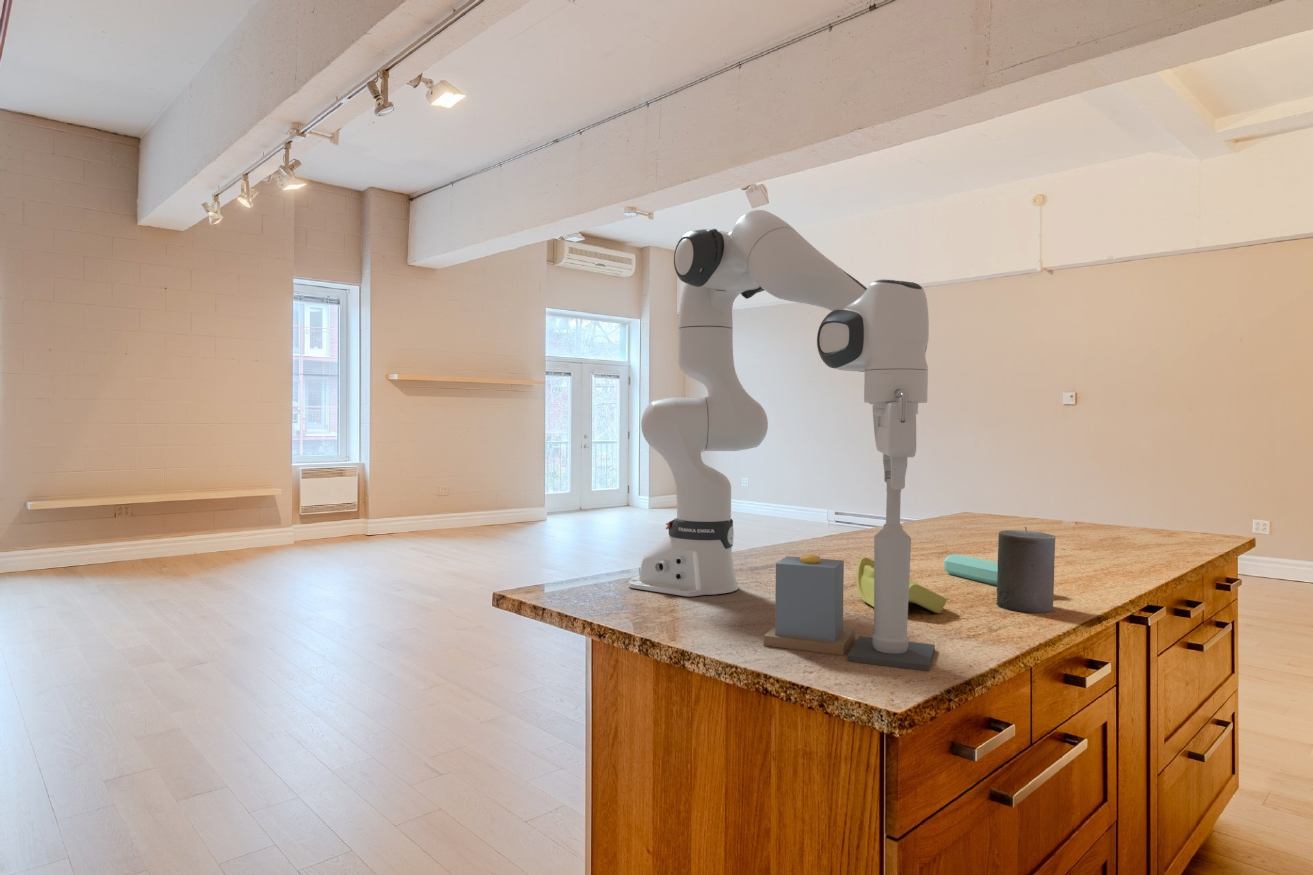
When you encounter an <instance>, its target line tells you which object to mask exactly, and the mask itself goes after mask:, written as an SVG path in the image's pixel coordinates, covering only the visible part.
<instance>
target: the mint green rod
mask: <svg viewBox="0 0 1313 875" xmlns="http://www.w3.org/2000/svg"><path fill="white" fill-rule="evenodd" d="M943 569H944V570H945V571H946V572H947V573H948V574H949V575H951V576H956V577H960V578H964V579H967V580H973V581H975V582H976V581H977V582H979V583H983V584H989V585H992V586H996V587H997V574H998V561H993V560H988V559H983V558H979V557H973V556H969V555H963V554H962V555H961V554H957V553H956V554H955V553H954V554H950V555H947V557H946V558H945V559H944V560H943Z"/></svg>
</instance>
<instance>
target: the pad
mask: <svg viewBox="0 0 1313 875" xmlns="http://www.w3.org/2000/svg"><path fill="white" fill-rule="evenodd" d="M935 648H936V647H935V643H933V644H931V643H923V642H915V641H909V644H908V649H907V651H906V652H905V653H901V654H890V653H883V652H880V651H877V650H875V649H874V648H873V644H872V636H871V637H869V636H862V635H860V636H859V637H858V638H857V640H856V642H855V643H854V645H853V646H852V647H851V649H850V651H849V653H848V654H847V661H848V662H854V663H862V664H868V665H869V664H870V665H879V666H885V667H892V668H902V669H909V670H916V671H917V670H918V671H926V672H929V671H930V668H931V666H932V661H933V657H934V653H935Z"/></svg>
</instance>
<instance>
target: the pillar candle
mask: <svg viewBox="0 0 1313 875" xmlns="http://www.w3.org/2000/svg"><path fill="white" fill-rule="evenodd" d="M1024 529H1025V530H1020V529H1016V530H1015V529H1014V530H1013V529H1008V530H1001V531H999V532H998V539H997V540H998V542H997V544H998V545H997V562H998V574H997V586H996V603H995V604H996V605H997V606H998V607H1000V608H1001V609H1005V610H1010V611H1015V612H1019V613H1020V612H1021V613H1029V614H1031V613H1033V614H1034V613H1035V614H1043V613H1049V612H1050V613H1051V612H1053V611H1054V595H1055V594H1054V593H1055V592H1054V589H1055V559H1056V558H1055V557H1056V555H1055V554H1056V535H1054V534H1050V533H1045V532H1039V531H1032V530H1031V531H1030V530H1027V526H1024Z"/></svg>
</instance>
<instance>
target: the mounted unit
mask: <svg viewBox="0 0 1313 875" xmlns="http://www.w3.org/2000/svg"><path fill="white" fill-rule="evenodd" d="M844 562H845V560H842V559H841V560H840V559H839V560H838V559H829V558H828V559H826V558H821V556H819V555H815V554H814V555H811V554H805V555H800V556H789V555H787V556H785V557H783V558H782V559H781V560H778V562H776V563H775V600H774V601H775V606H774V607H775V608H774V609H775V611H774V612H775V614H774V615H775V617H774V619H775V620H774V621H775V622H774V624H775V625H774V626H773V627H772V628H770V629H769V630H768V631H767V632H766V633H764V635H763V646H764V647H772V648H783V649H790V650H796V651H797V650H799V651H805V652H814V653H822V654H823V653H824V654H830V655H838V656H844V655H845V654H846V652H847V651H848V649H849V648H850V646H851V645H852V643H853V642H854V640H855V638H856V629H855V628H850V627H844V585H845V584H844V582H845V581H844V579H845V578H844V577H845V574H844V573H845V572H844V571H845V570H844V569H845V566H844V565H845V564H844Z"/></svg>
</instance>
